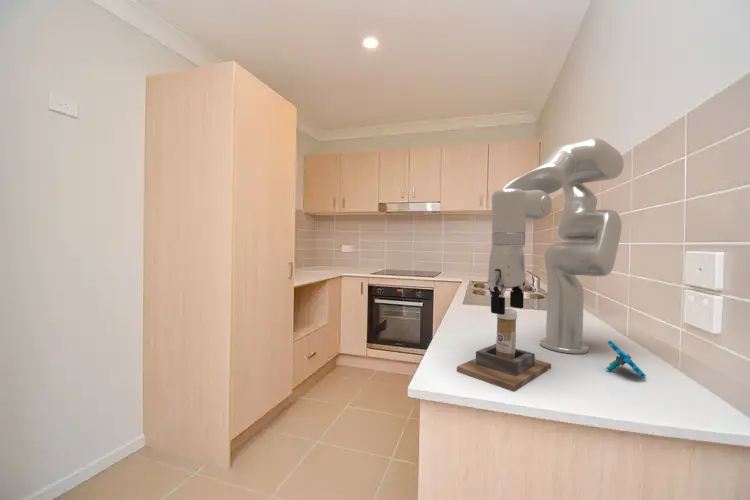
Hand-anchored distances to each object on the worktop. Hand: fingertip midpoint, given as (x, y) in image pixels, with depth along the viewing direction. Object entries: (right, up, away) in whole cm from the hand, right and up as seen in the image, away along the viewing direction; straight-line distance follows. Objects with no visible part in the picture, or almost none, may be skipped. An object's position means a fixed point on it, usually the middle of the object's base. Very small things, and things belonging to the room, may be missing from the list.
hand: (507, 310), depth 80 cm
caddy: (-1, -15, 0) cm, 15 cm away
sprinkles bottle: (-1, -14, 0) cm, 14 cm away
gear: (+28, -15, -1) cm, 32 cm away
